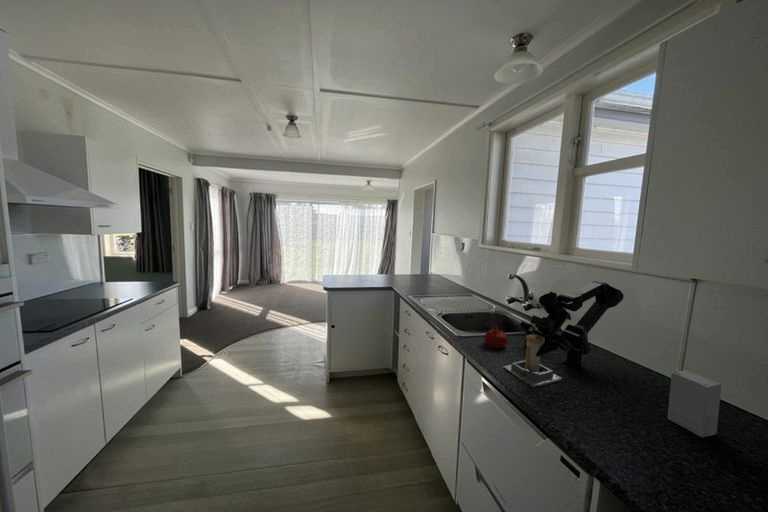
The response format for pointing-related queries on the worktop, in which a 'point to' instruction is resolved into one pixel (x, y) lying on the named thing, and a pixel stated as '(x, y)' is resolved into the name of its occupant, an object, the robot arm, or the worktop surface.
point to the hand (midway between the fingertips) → (530, 353)
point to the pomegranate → (496, 338)
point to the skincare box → (694, 403)
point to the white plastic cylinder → (533, 353)
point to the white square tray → (533, 374)
